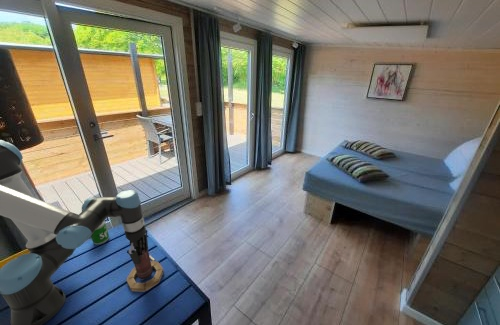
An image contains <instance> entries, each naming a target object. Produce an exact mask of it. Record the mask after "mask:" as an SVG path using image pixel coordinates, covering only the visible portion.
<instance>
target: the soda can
mask: <svg viewBox="0 0 500 325" xmlns="http://www.w3.org/2000/svg"><path fill="white" fill-rule="evenodd" d="M108 230H109V229H108V227H107V225H106V220H105V221H104V222H103V223H102V224H101V225H100V226H99V227H98V228H97V229H96V230H95V231H94V233H93V234H92V235H91V237H90V238H91V241H92V244H95V245H102V244H105V243H106V242H107V241H108V240H109V238H110V235H109V231H108Z"/></svg>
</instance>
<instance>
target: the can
mask: <svg viewBox="0 0 500 325" xmlns="http://www.w3.org/2000/svg"><path fill="white" fill-rule="evenodd" d="M149 255H150V252H149V248H148V249H147V248H146V247H145V249H144V250H142V255H140V256H139V258H140V260H141V264H134V267H135V268H136V272H137V276H136V277H137V278H138V279H139V280H141V281H143V280H147V279H149V278H150V277H151V275H152V274H153V269H152V266H151V261H152V260H151V259H150V257H149Z"/></svg>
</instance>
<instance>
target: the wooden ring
mask: <svg viewBox="0 0 500 325" xmlns="http://www.w3.org/2000/svg"><path fill="white" fill-rule="evenodd" d="M150 261H151V266H152V270H155V274H154V276H153V277H152V278H151V279H149V280H147V281H145V282H137V281H136V280H135V279H136V278H137V277H138V276H137V272H136V268H135V266H134V267H133V268H132V269H131V271H130V272H129V274H128V276H127V278H126V283H127V285H128V288H129V289H130V291H131V292H137V293H138V292H140V293H141V292H142V293H143V292H144V293H145V292H147V291H149V290H151V289H152V288H154V287H155V286H156V285H158V284H159V283H160V282H161V279H162V277H163V275H164V268H163V266H162V265H161V263H160V262H159V261H156V260H155V261H153V260H150Z"/></svg>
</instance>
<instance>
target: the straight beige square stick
mask: <svg viewBox="0 0 500 325" xmlns="http://www.w3.org/2000/svg"><path fill="white" fill-rule="evenodd" d="M149 257H150V261H156V259H155V258H154V257H153V256H152V255H151V254H149Z"/></svg>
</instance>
